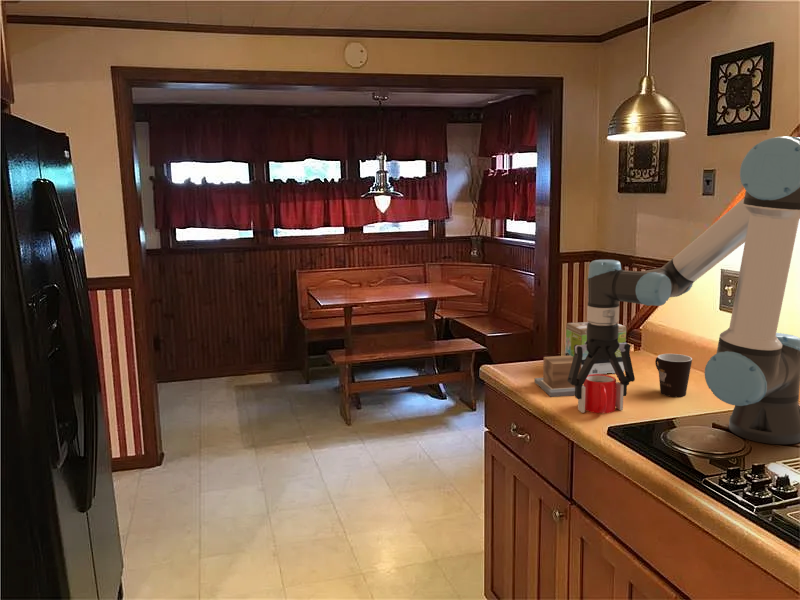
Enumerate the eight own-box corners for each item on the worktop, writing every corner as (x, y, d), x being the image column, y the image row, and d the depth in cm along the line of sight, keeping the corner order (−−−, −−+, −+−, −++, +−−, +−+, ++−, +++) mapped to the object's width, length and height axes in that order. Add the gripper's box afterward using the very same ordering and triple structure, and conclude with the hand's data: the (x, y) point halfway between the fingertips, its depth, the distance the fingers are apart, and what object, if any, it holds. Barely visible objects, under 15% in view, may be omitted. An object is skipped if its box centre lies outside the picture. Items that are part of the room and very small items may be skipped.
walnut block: (580, 387, 183) (581, 362, 182) (552, 388, 182) (553, 364, 181) (570, 379, 191) (570, 355, 190) (543, 380, 190) (543, 356, 189)
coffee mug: (693, 399, 174) (695, 362, 173) (659, 397, 176) (660, 361, 174) (684, 386, 186) (685, 351, 184) (651, 385, 187) (653, 350, 186)
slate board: (589, 394, 180) (589, 390, 180) (550, 396, 179) (550, 392, 179) (570, 380, 194) (571, 375, 194) (534, 382, 193) (534, 378, 193)
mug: (588, 418, 162) (589, 387, 161) (580, 402, 174) (581, 373, 172) (621, 419, 161) (622, 387, 160) (611, 403, 173) (612, 374, 171)
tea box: (580, 377, 196) (581, 328, 194) (564, 369, 206) (565, 322, 204) (625, 373, 200) (627, 325, 197) (607, 364, 210) (608, 319, 207)
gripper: (565, 327, 159) (563, 417, 162) (652, 323, 161) (648, 411, 165) (554, 321, 166) (553, 407, 170) (638, 317, 168) (634, 402, 172)
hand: (600, 409), depth 167 cm, fingers open, 9 cm apart
